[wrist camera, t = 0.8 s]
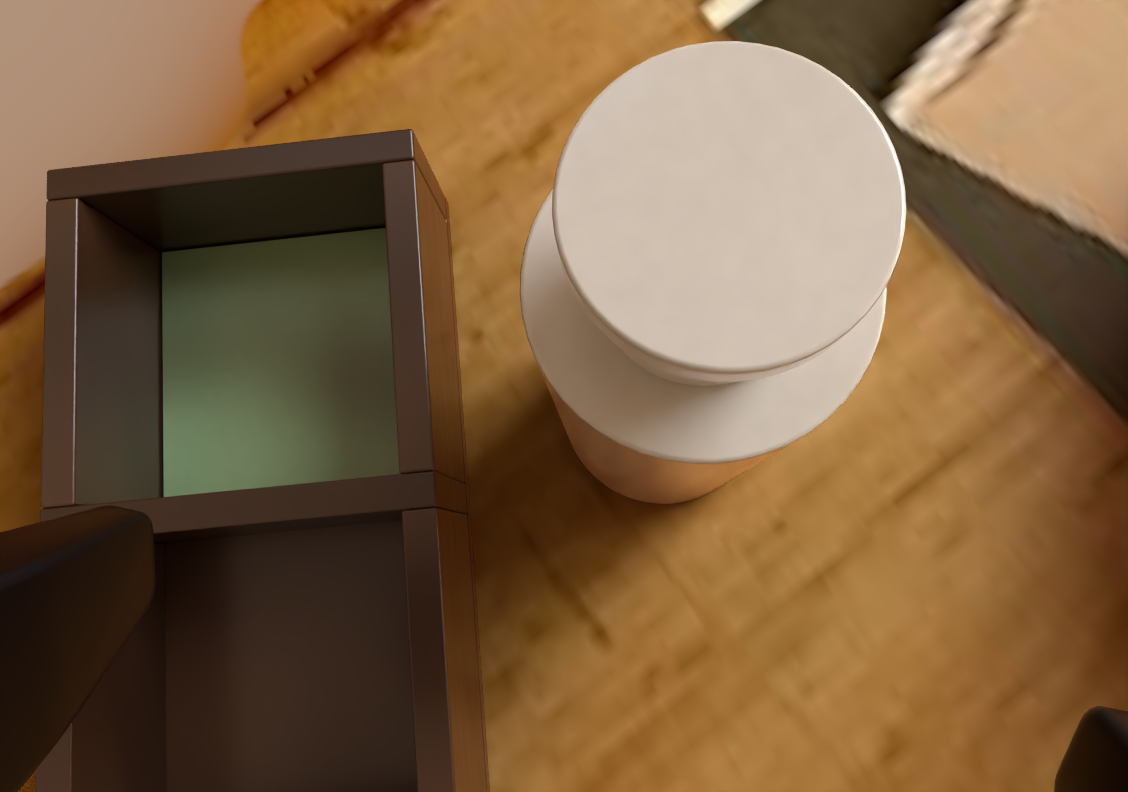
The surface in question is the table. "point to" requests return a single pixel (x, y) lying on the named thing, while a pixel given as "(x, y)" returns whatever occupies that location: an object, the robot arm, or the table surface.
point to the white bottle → (711, 265)
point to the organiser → (269, 468)
